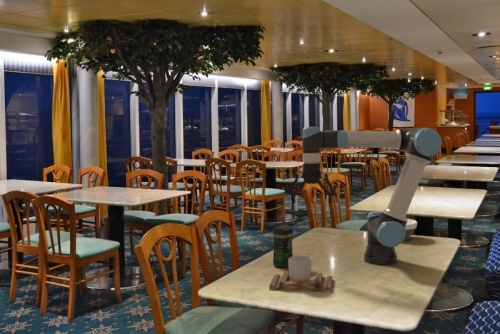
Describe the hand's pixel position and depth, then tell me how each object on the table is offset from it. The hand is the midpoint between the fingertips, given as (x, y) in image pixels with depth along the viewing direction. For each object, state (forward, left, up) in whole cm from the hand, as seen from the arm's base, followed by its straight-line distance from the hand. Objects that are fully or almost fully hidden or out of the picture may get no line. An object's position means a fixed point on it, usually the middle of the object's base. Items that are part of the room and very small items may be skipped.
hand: (312, 210), depth 241 cm
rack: (+3, +21, -27) cm, 34 cm away
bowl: (-42, -67, -27) cm, 84 cm away
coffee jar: (+14, -7, -27) cm, 31 cm away
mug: (+3, +20, -26) cm, 33 cm away
